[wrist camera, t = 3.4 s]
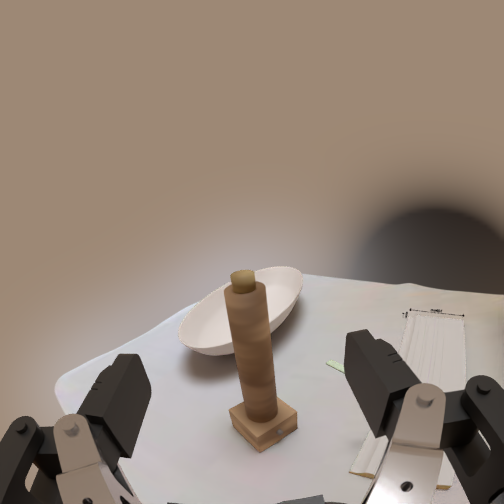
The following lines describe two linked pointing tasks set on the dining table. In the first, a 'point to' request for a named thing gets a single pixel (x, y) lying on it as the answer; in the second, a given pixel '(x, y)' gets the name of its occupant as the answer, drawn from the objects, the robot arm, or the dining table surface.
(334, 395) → the dining table surface
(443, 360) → the baseboard molding
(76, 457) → the robot arm
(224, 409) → the dining table surface
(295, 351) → the dining table surface
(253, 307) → the brown peg on stand
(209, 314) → the bowl
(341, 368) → the tape mark
